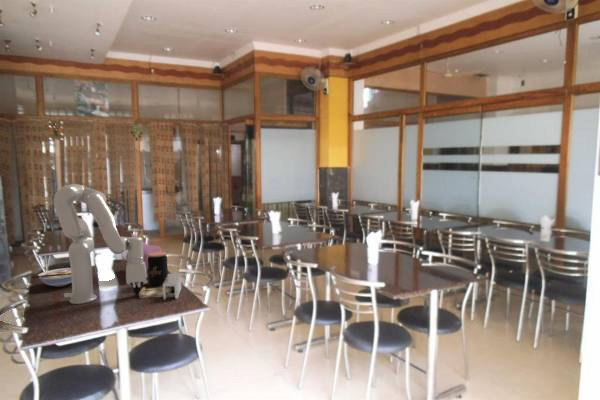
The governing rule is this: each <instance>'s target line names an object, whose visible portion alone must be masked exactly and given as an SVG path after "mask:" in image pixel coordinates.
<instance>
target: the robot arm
mask: <svg viewBox="0 0 600 400" xmlns="http://www.w3.org/2000/svg"><path fill="white" fill-rule="evenodd" d="M53 197H54V198H53V207H54V209H55V213H56V215H57V219H58V221H59V224H60V227H61V229H62V232H63V235H64V236H65V237H66V238H68V239H71V240H72V242H71V244H70V245H69V247H68V251H67V252H68V258H69V265H70V268H71V277H72V283H71V289H72V291H71V292H64V294H63V297H64V299H69V303H71V304H73V305H78V304H79V305H80V304H87V303H90V302H91V303H92V302H94V301H95V300H97V298H98V296H97V294H94V285H93V284H94V283H93V282H94V281H93V267H92V259H91V253H92V252H93V251H94V248H95V242H94V239H93V235H92V234H91V230H90V227H89V225H88V223H87V222H86V220H84V219H83V218H81V217H79V215H78V212H77V210H76V209H75V205H74V203H75V201H77V202H80V203H84V204H86V207H87V208H88V210H89V211H90V213H91V215H92V217H93V219H94V220H95V221H96V223H97V225H98V229H99V231H100V234H101V235H102V238H103V240H104V242H105V244H106V246H107V247H108V249H109V251H110V252H111V253H113V254H115V255H120V254H122V253H125V251H127V253H128V258H127V259H126V258H125V262H126V261H128V263H126V268H125V281H126V283H125V284H127V285H130V286H132V287H133V291H134V292H133V293H134V295H135V296H139V292H140V291H141V290H142V288H141V287H142V286H143V284H144V285H145V284H147V283H149V279H148V278H147V269H146V264H145V262H144V254H143V242H144V238H143V237H141V236H138V237H132V236H130V237H129V236H120V234H119V231H118V229H117V227H116V218H115V216H114V214H113V212H112V211H111V209H110V208H109V205H108V204H107V196H106V195H105V193H104V192H102V191H100V190H97V189H93V188H91V187H88V186H85V185H82V184H79V183H72V184H67V185H64V186H62V187H61V188H59V189H58V190H57V192H56V193H55V194H54V196H53Z"/></svg>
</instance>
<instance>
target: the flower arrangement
mask: <svg viewBox="0 0 600 400" xmlns="http://www.w3.org/2000/svg"><path fill="white" fill-rule="evenodd" d="M131 237H139V236H138V235H136V234H134V233H132V232H131ZM152 252H163V251H162V249H161V247H160V246H159V245H149V244H147V243H146V242H144V241H143V254H144V262H145V264H146V269H147V279H149V275H148V254H149V253H152ZM127 258H128V252H127V254H126V255H125V262H126V264H127V263H128V261H126V259H127Z"/></svg>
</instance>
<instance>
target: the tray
mask: <svg viewBox="0 0 600 400" xmlns="http://www.w3.org/2000/svg"><path fill="white" fill-rule="evenodd" d="M172 291H173V290H172V288H168V287H166V294H170V293H172ZM138 298H139V299H151V298H153V299H154V298H163V287H160V288H159V287H158V288H146V287H144V286H143V287H142V288H141V291H140V292H139V295H138Z"/></svg>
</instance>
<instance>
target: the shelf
mask: <svg viewBox="0 0 600 400" xmlns="http://www.w3.org/2000/svg"><path fill="white" fill-rule="evenodd" d="M182 285H183V284H182V273H181V272H178V273H176V272H175V273H168V275H167V277H166V279H165V281H164V283H163V285H162V288H163V297H162V299H163V300H167V298H174V300H176V299H177V300H178V299H179V296H180V292H181V290H182ZM166 288H172V291H173V292H171V293H170V294H166Z"/></svg>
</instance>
